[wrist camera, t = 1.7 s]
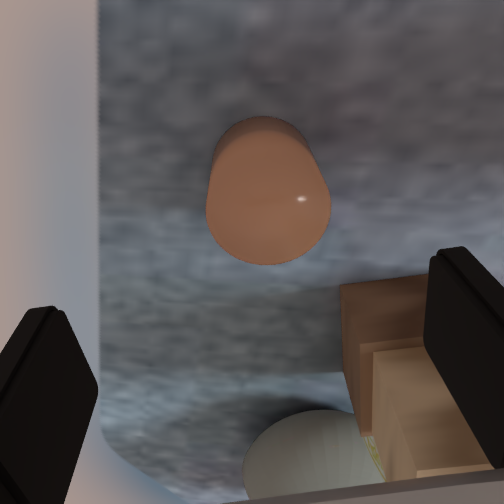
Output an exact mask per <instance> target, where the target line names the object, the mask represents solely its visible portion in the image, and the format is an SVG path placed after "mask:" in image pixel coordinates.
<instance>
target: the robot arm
mask: <svg viewBox="0 0 504 504" xmlns="http://www.w3.org/2000/svg"><path fill="white" fill-rule="evenodd" d="M423 342H424V346H425V349H426V351H427V353H428V355H429V357H430V358H431V360H432V362H433V364H434V365H435V367H436V369H437V371H438V373H439V374H440V376H441V378H442V380H443V381H444V383H445V385H446V387H447V388H448V390H449V392H450V394H451V395H452V397H453V399H454V401H455V402H456V404H457V406H458V408H459V409H460V411H461V413H462V415H463V417H464V418H465V420H466V422H467V424H468V425H469V427H470V429H471V431H472V432H473V434H474V436H475V438H476V439H477V441H478V443H479V445H480V446H481V448H482V450H483V452H484V453H485V455H486V457H487V459H488V461H489V462H490V464H491V465H492V467H493V468H494V469H492V470H483V471H474V472H465V473H456V474H447V475H438V476H430V477H422V478H414V479H407V480H399V481H391V482H383V483H375V484H367V485H359V486H352V487H344V488H336V489H328V490H320V491H313V492H305V493H298V494H290V495H283V496H275V497H267V498H260V499H252V500H245V501H237V502H230V503H222V504H504V287H503V286H502V285H501V284H500V283H499V282H498V281H497V280H496V279H495V278H494V277H493V276H492V275H491V274H490V273H489V272H488V270H487V269H486V268H485V267H484V266H483V265H482V264H481V263H480V262H479V261H478V260H477V259H476V258H475V257H474V256H473V255H472V254H471V253H470V252H469V251H468V250H467V249H466V248H465V247H463V246H460V247H453V248H446V249H440V250H438V252H437V254H436V256H432V257H431V259H430V264H429V275H428V286H427V297H426V308H425V319H424V331H423ZM97 397H98V385H97V382H96V379H95V377H94V375H93V373H92V371H91V369H90V367H89V364H88V362H87V360H86V358H85V356H84V353H83V351H82V349H81V347H80V345H79V343H78V340H77V338H76V336H75V334H74V332H73V330H72V327H71V326H70V323H69V321H68V319H67V316H66V315H65V313H64V312H63V311H62V310H58V309H57V308H56V307H55V306H46V307H39V308H32V309H29V310H28V311H27V312H26V313H25V315H24V317H23V318H22V320H21V321H20V323H19V325H18V326H17V328H16V329H15V331H14V333H13V334H12V336H11V337H10V339H9V341H8V342H7V344H6V345H5V347H4V349H3V350H2V352H1V353H0V504H64V501H65V498H66V495H67V492H68V489H69V486H70V482H71V479H72V476H73V473H74V470H75V466H76V463H77V460H78V457H79V454H80V451H81V448H82V444H83V441H84V438H85V435H86V432H87V429H88V425H89V422H90V419H91V416H92V413H93V409H94V406H95V403H96V400H97Z"/></svg>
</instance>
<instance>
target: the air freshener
mask: <svg viewBox="0 0 504 504" xmlns="http://www.w3.org/2000/svg"><path fill="white" fill-rule="evenodd" d="M242 475H243V481H244V486H245V489H246V492H247V494H248V497H249V499H250V500H252V499H260V498H267V497H275V496H283V495H290V494H298V493H305V492H313V491H320V490H328V489H336V488H344V487H352V486H359V485H367V484H375V483H383V482H387V481H386V477H385V474H384V471H383V467H382V464H381V461H380V457H379V454H378V451H377V447H376V444H375V441H374V437H373V436H367V437H361V435H360V432H359V428H358V424H357V421H356V417H355V415H354V414H351V413H347V412H343V411H336V410H312V411H305V412H301V413H297V414H294V415H291V416H289V417H286V418H284V419H282V420H280V421H278V422H276V423H274V424H273V425H271V426H270V427H269V428H267V429H266V430H265V431H264V432H262V433H261V434H260V435H259V436H258V437H257V438H256V440H255V441H254V442H253V444H252V445H251V447H250V448H249V450H248V451H247V453H246V456H245V458H244V461H243V465H242Z"/></svg>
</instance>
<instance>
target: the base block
mask: <svg viewBox="0 0 504 504" xmlns="http://www.w3.org/2000/svg"><path fill="white" fill-rule="evenodd" d="M428 275H429V274H424V275H416V276H408V277H400V278H392V279H384V280H376V281H368V282H360V283H352V284H344V285H340V301H341V327H342V352H343V373H344V377H345V380H346V384H347V388H348V391H349V395H350V399H351V402H352V406H353V410H354V413H355V417H356V421H357V424H358V428H359V432H360V435H361V437H367V436H373V434H372V394H373V352H378V351H387V350H396V349H405V348H414V347H422V346H424V342H423V331H424V319H425V308H426V297H427V286H428Z"/></svg>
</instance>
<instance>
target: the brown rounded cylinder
mask: <svg viewBox="0 0 504 504" xmlns="http://www.w3.org/2000/svg"><path fill="white" fill-rule="evenodd" d="M330 214H331V199H330V194H329V190H328V188H327V185H326V183H325V181H324V179H323V176H322V174H321V172H320V170H319V168H318V166H317V163H316V161H315V159H314V157H313V155H312V153H311V150H310V148H309V146H308V144H307V142H306V140H305V139H304V137H303V136H302V134H301V133H300V132H299V131H298V130H297V129H296V128H295V127H294V126H292V125H291V124H289V123H287V122H285V121H283V120H281V119H278V118H274V117H267V116H260V117H252V118H248V119H245V120H243V121H241V122H239V123H237V124H235V125H234V126H232V127H231V128H230V129H229V130H227V131H226V132H225V133H224V135H223V136H222V137H221V139H220V140H219V142H218V144H217V146H216V148H215V151H214V154H213V160H212V167H211V173H210V180H209V187H208V194H207V201H206V219H207V223H208V227H209V229H210V232H211V234H212V236H213V237H214V239H215V240H216V242H217V243H218V244H219V245H220V246H221V247H222V248H223V249H224V250H225V251H226V252H228V253H229V254H230V255H232V256H234V257H235V258H237V259H239V260H242V261H245V262H248V263H252V264H258V265H275V264H281V263H285V262H288V261H291V260H293V259H296V258H298V257H300V256H301V255H303V254H305V253H306V252H307V251H309V250H310V249H311V248H312V247H313V246H314V245H315V244H316V243H317V242H318V241H319V240H320V238H321V237H322V235H323V234H324V232H325V230H326V228H327V225H328V222H329V219H330Z"/></svg>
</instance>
